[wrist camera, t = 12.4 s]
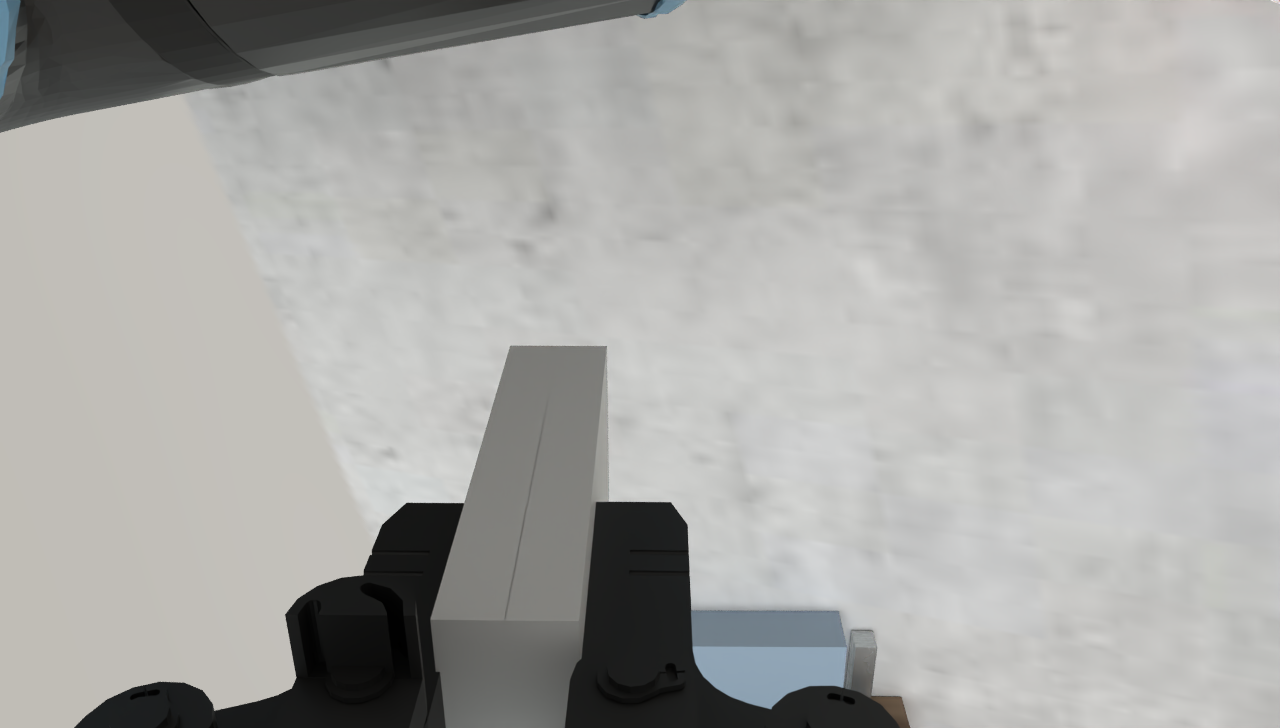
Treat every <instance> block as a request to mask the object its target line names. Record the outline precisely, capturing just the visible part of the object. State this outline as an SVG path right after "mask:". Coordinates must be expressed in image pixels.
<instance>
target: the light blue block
mask: <svg viewBox="0 0 1280 728" xmlns="http://www.w3.org/2000/svg"><path fill="white" fill-rule="evenodd" d="M691 619H692V643H693V654H694V658H695V663H696V665H697V667H698V669H699V670H700V672H701V674H702V675H703V677H704V678H705V679H707V680H708V681H709V682H710V683H711V684H712V685H713V686H714V687H715V688H717V689H718V690H720V691H722V692H723V693H725V694H727V695H728V696H730V697H732V698H735V699H738V700H741V701H743V702H746V703H749V704H753V705H757V706H760V707H764V708H768V709H772V706H774V705H775V704H776V703H777V702H778V701H779V700H781V699H782V698H783V697H784V696H785V695H786V694H788V693H790V692H793V691H796V690H799V689H802V688H805V687H808V686H838V687H842V688H843V686H844V674H845V663H846V652H847V645H846V641H845V637H844V633H843V628H842V624H841V620H840V615H839V611H691Z"/></svg>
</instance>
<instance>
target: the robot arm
mask: <svg viewBox="0 0 1280 728" xmlns="http://www.w3.org/2000/svg"><path fill="white" fill-rule="evenodd" d="M685 1H686V0H0V133H1V132H4V131H8V130H11V129H15V128H19V127H22V126H26V125H30V124H34V123H38V122H42V121H46V120H51V119H55V118H60V117H64V116H69V115H73V114H79V113H84V112H90V111H95V110H100V109H105V108H111V107H116V106H121V105H127V104H132V103H137V102H142V101H148V100H153V99H158V98H163V97H168V96H173V95H178V94H184V93H189V92H194V91H199V90H204V89H213V88H222V87H231V86H237V85H242V84H247V83H250V82H254V81H258V80H261V79H264V78H267V77H270V76H275V75H277V76H284V75H292V74H299V73H305V72H310V71H316V70H322V69H328V68H334V67H339V66H345V65H351V64H357V63H362V62H368V61H374V60H380V59H385V58H391V57H397V56H403V55H408V54H414V53H420V52H426V51H432V50H437V49H443V48H449V47H455V46H460V45H466V44H472V43H478V42H483V41H489V40H495V39H501V38H506V37H512V36H518V35H524V34H530V33H535V32H541V31H547V30H553V29H558V28H564V27H570V26H576V25H581V24H587V23H593V22H599V21H605V20H610V19H616V18H622V17H628V16H633V15H637V16H639V17H640V18H644V19H645V18H652V17H656V16H657V14H668V13H670V12H671V11H673V10H674V9H676V8H677V7H679V6H681V5H682V4H683V3H684V2H685ZM608 501H609V465H608V399H607V346H510V349H509V352H508V356H507V359H506V363H505V366H504V369H503V373H502V376H501V380H500V383H499V387H498V390H497V393H496V397H495V400H494V404H493V407H492V410H491V414H490V417H489V421H488V424H487V428H486V431H485V434H484V438H483V441H482V445H481V448H480V451H479V455H478V458H477V462H476V465H475V469H474V472H473V475H472V479H471V482H470V486H469V489H468V493H467V496H466V499H465V503H406V504H405V505H404V506H403V507H401V508H400V509H399V510H398V511H397V512H396V513H395V514H394V515H393V516H391V517H390V518H389V519H388V520H387V521H386V522H385V523H384V524H383V525H382V527H381V529H380V532H379V534H378V536H377V539H376V541H375V544H374V546H373V549H372V555H370V556H369V559H368V561H367V564H366V566H365V569H364V575H363V576H354V577H345V578H340V579H336V580H334V581H331V582H328V583H325V584H322V585H319V586H317V587H315V588H314V589H312V590H311V591H309V592H307V593H306V594H305V595H303V596H301V597H300V598H298V599H297V600H296V602H295V603H294V604H293V605H292V607H291V608H290V609H289V610H288V612H287V613H286V614H285V616H286V622H287V627H288V633H289V638H290V644H291V650H292V655H293V661H294V666H295V671H296V677H297V678H296V680H295V683H294V685H293V687H292V689H290V690H288V691H286V692H284V693H281V694H279V695H277V696H274V697H270V698H267V699H264V700H261V701H257V702H252V703H248V704H244V705H239V706H235V707H230V708H226V709H221V710H217V711H214V708H213V704H212V702H211V701H210V700H209V698H208V697H207V696H206V694H205V693H204V692H203V690H200V689H198V688H196V687H193V686H191V685H188V684H186V683H176V682H157V683H152V684H148V685H143V686H138V687H134V688H131V689H129V690H127V691H125V692H122V693H121V694H118V695H116V696H114V697H112V698H109V699H107V700H106V701H105V702H104V703H102V704H101V705H99V706H98V707H97V708H96V709H94V710H93V711H92V712H90V713H89V714H88V715H86V716H85V717H84V718H83V719H82V720H81V721H80V723H78V724H77V725H76V727H74V728H900V727H899V725H898V723H897V722H896V721H895V719H894V718H893V717H892V716H891V715H890V714H889V713H888V712H887V711H886V709H885V708H884V707H883V706H882V705H881V704H879V703H878V702H876V701H874V700H872V699H871V698H869V697H867V696H865V695H864V694H862V693H860V692H858V691H854V690H850V689H846V688H842V687H838V686H808V687H805V688H802V689H799V690H796V691H793V692H790V693H788V694H786V695H785V696H784V697H783V698H782V699H781V700H779V701H778V702H777V703H776V704H775V705H774V706H772V709H768V708H764V707H760V706H757V705H753V704H749V703H746V702H743V701H741V700H738V699H735V698H732V697H730V696H728V695H727V694H725V693H723V692H722V691H720V690H718V689H717V688H715V687H714V686H713V685H712V684H711V683H710V682H709V681H708V680H707V679H705V678H704V677H703V675H702V674H701V672H700V670H699V669H698V667H697V665H696V663H695V658H694V654H693V643H692V619H691V596H690V576H689V554H688V552H689V550H688V526H687V524H686V522H685V521H684V519H683V518H682V517H681V515H680V514H679V513H678V511H677V510H676V509H675V507H674V506H673V505H672V503H671V502H608Z"/></svg>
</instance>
